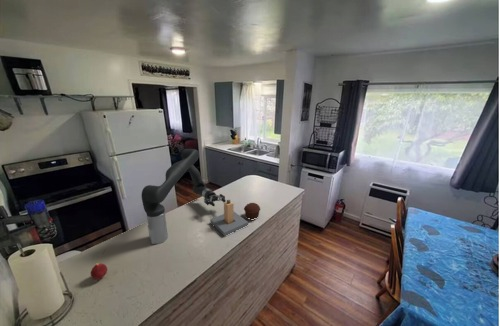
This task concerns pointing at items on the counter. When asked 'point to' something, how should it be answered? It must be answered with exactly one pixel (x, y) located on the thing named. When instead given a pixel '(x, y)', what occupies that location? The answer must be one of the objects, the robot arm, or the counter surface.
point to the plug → (228, 212)
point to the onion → (98, 271)
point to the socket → (229, 228)
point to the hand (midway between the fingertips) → (219, 203)
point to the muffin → (252, 210)
